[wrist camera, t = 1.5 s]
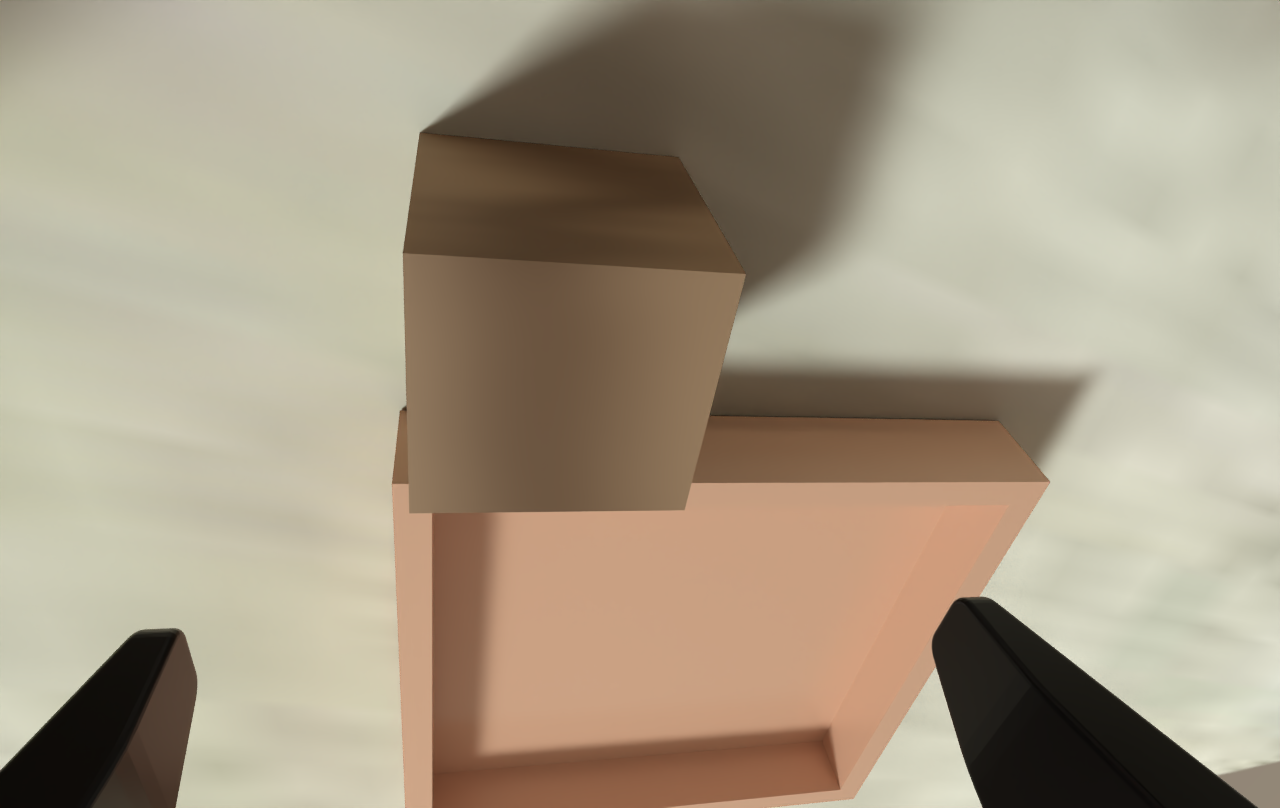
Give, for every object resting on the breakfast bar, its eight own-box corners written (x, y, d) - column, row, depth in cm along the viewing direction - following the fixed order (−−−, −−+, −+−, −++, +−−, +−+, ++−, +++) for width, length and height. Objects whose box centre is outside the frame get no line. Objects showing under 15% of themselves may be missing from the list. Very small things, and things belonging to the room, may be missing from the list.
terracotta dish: (998, 420, 22) (1050, 481, 20) (829, 736, 31) (853, 798, 29) (400, 410, 18) (392, 483, 16) (411, 771, 28) (406, 845, 26)
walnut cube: (677, 155, 16) (746, 274, 12) (639, 361, 19) (684, 510, 15) (420, 130, 15) (402, 253, 11) (422, 353, 18) (409, 513, 14)
